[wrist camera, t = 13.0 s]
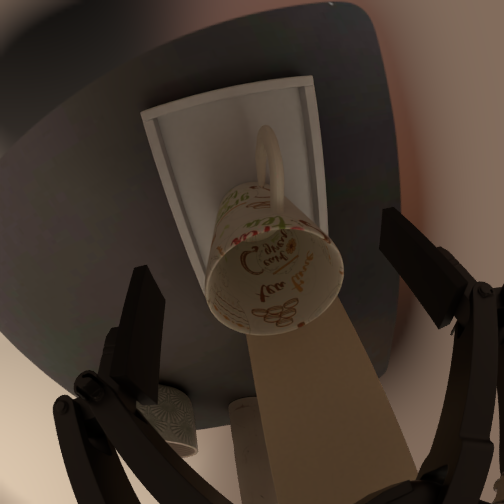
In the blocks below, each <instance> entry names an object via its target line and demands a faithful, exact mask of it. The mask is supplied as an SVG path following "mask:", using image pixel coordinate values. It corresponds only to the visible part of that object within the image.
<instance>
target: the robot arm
mask: <svg viewBox="0 0 504 504" xmlns="http://www.w3.org/2000/svg"><path fill="white" fill-rule="evenodd" d="M379 249H380V251H381V252H382V253H383V254H384V255H385V257H386V258H387V259H388V260H389V262H390V263H391V264H392V266H393V267H394V268H395V269H396V271H397V272H398V273H399V275H400V276H401V277H402V278H403V280H404V281H405V282H406V284H407V285H408V286H409V288H410V289H411V291H412V292H413V293H414V295H415V296H416V297H417V299H418V300H419V302H420V303H421V304H422V306H423V307H424V309H425V310H426V311H427V313H428V314H429V316H430V317H431V319H432V320H433V322H434V323H435V325H436V326H437V328H438V329H441V328H443V327H445V326H447V325H449V324H450V322H451V321H452V319H453V317H454V316H455V318H456V319H457V322H456V324H455V326H454V327H453V330H452V331H451V334H450V335H453V333H454V331H455V335H454V345H453V353H452V361H451V368H450V374H449V379H448V386H447V390H446V395H445V400H444V404H443V409H442V413H441V416H440V421H439V424H438V428H437V431H436V435H435V438H434V441H433V445H432V447H431V450H430V453H429V455H428V456H427V458H426V459H425V460H424V462H423V464H422V466H421V468H420V470H419V473H418V475H417V477H416V480H412V481H410V479H409V480H406V481H403V482H400V483H396V484H393V485H390V486H388V487H385V488H383V489H381V490H378V491H376V492H373V493H371V494H369V495H367V496H365V497H364V498H362V499H361V500H359V501H357V502H356V503H354V504H491V503H488V502H485V501H482V500H479V499H480V496H481V493H482V491H483V488H484V485H485V482H486V478H487V475H488V472H489V468H490V464H491V461H492V457H493V452H494V445H493V443H492V442H491V441H490V431H491V426H492V420H493V414H494V406H495V398H496V388H497V393H498V403H499V424H500V444H499V462H500V473H501V477H500V479H498V480H497V481H496V482H495V484H494V487H493V488H494V491H495V492H497V494H496V498H495V499H494V501H493V503H492V504H504V284H503V286H502V287H499V288H492V287H491V286H490V285H489V284H488V283H485V282H477V281H476V280H475V279H474V278H473V277H472V276H471V275H470V274H469V273H468V271H467V270H466V269H465V268H464V267H463V266H462V265H461V264H459V262H458V261H457V260H456V259H455V258H454V256H453V255H452V254H451V253H450V252H449V251H447V250H446V249H444V248H442V247H437V248H436V247H435V246H434V245H433V244H432V243H431V242H430V241H429V240H428V239H427V238H426V237H425V236H424V235H423V234H422V233H421V232H420V231H419V230H418V229H417V228H416V227H415V226H414V225H413V224H412V223H411V222H410V221H408V220H407V219H406V218H405V217H404V216H403V215H402V214H401V213H400V212H399V211H398V210H396V209H395V208H394V207H391V208H386V209H383V212H382V225H381V236H380V245H379ZM164 310H165V299H164V297H163V295H162V293H161V291H160V289H159V288H158V286H157V284H156V282H155V280H154V278H153V276H152V274H151V272H150V270H149V268H148V266H147V265H143V266H139V267H135V268H134V270H133V274H132V277H131V281H130V284H129V288H128V292H127V296H126V299H125V303H124V307H123V311H122V315H121V320H120V324H119V327H114V328H111V330H110V331H109V333H108V335H107V336H106V340H105V344H104V348H103V355H102V357H101V362H100V367H99V372H98V375H97V374H96V373H95V372H94V371H91V370H88V371H84V372H83V373H81V374H80V375H79V376H78V377H77V378H76V381H75V383H74V392H75V394H77V395H78V396H79V397H78V398H76V399H72V398H71V397H69V396H68V395H62V396H60V397H58V398H57V399H56V401H55V402H54V405H53V415H54V421H55V426H56V431H57V436H58V440H59V445H60V449H61V453H62V456H63V460H64V464H65V467H66V471H67V474H68V477H69V480H70V483H71V486H72V489H73V492H74V494H75V497H76V500H77V502H78V504H141V503H140V501H139V499H138V497H137V496H136V494H135V492H134V490H133V488H132V486H131V484H130V482H129V479H128V477H127V475H126V473H125V471H124V468H123V466H122V464H121V462H120V459H119V457H118V454H117V452H116V450H117V451H118V453H119V454H120V456H121V457H122V458H123V460H124V461H125V462H126V464H127V465H128V467H129V468H130V469H131V470H132V472H133V473H134V474H135V476H136V477H137V478H138V479H139V480H140V482H141V483H142V484H143V485H144V486H145V488H146V489H147V490H148V491H149V492H150V493H151V495H152V496H153V497H154V498H155V499H156V500H157V501H158V502H159V503H160V504H233V503H232V502H231V501H229V500H228V499H227V498H225V497H224V496H223V495H222V494H220V493H219V492H218V491H217V490H216V489H215V488H213V487H212V486H211V485H210V484H209V483H208V482H206V481H205V480H204V479H203V478H202V477H201V476H200V475H199V474H198V473H197V472H196V471H195V470H193V469H192V468H191V467H190V466H189V465H188V464H187V463H186V462H185V461H184V460H183V459H182V458H181V457H180V456H179V455H178V454H177V453H176V452H175V451H174V450H173V449H172V448H171V446H170V445H169V444H168V443H167V442H166V441H165V440H164V439H163V438H162V437H161V436H160V434H159V433H158V432H157V431H156V430H155V429H154V428H153V426H152V425H151V424H150V423H149V422H148V421H147V419H146V418H145V417H144V416H143V414H142V413H141V412H140V411H139V410H138V409H137V408H136V401H138V402H139V403H140V404H141V405H143V406H146V405H158V386H159V368H160V353H161V341H162V329H163V319H164Z"/></svg>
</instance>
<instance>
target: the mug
mask: <svg viewBox="0 0 504 504" xmlns="http://www.w3.org/2000/svg"><path fill="white" fill-rule="evenodd" d="M267 158H268V164H269V172H270V185H269V184H266V183H265V177H266V159H267ZM255 160H256V169H257V178H258V182H246V183H243V184H240V185H238V186H236V187H234V188H233V189H231V190H230V191H229V192H228V193H227V194H226V195H225V196H224V198H223V199H222V201H221V203H220V206H219V209H218V213H217V218H216V223H215V228H214V233H213V238H212V243H211V248H210V254H209V259H208V264H207V270H206V276H205V297H206V301H207V304H208V306H209V308H210V310H211V312H212V313H213V315H214V316H215V317H216V318H217V319H218V320H219V321H220V322H221V323H223V324H224V325H225V326H227V327H229V328H231V329H233V330H235V331H238V332H241V333H245V334H250V335H262V336H264V335H276V334H281V333H286V332H289V331H292V330H295V329H298V328H300V327H302V326H304V325H306V324H308V323H310V322H311V321H313V320H314V319H316V318H317V317H318V316H320V315H321V314H322V313H323V312H324V311H325V310H326V309H327V308H328V307H329V306H330V305H331V304H332V302H333V301H334V299H335V298H336V296H337V294H338V293H339V290H340V288H341V286H342V282H343V276H344V266H343V261H342V257H341V255H340V252H339V250H338V249H337V247H336V246H335V244H334V243H333V242H332V240H331V239H330V238H329V237H328V236H327V235H326V234H325V233H324V232H323V231H322V230H321V229H320V228H319V227H318V226H317V225H316V224H315V223H314V222H313V221H312V220H310V219H309V218H308V217H307V216H306V215H305V214H304V213H303V212H302V211H301V210H300V209H299V208H297V207H296V206H295V205H294V204H293V203H292V202H291V201H290V200H289V199H288V198H286V197H285V196H284V169H283V161H282V156H281V151H280V148H279V144H278V140H277V137H276V135H275V133H274V131H273V129H272V128H271V127H270V126H268V125H263V126H261V127H260V129H259V131H258V134H257V143H256V151H255Z"/></svg>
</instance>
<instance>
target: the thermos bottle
mask: <svg viewBox="0 0 504 504" xmlns="http://www.w3.org/2000/svg"><path fill="white" fill-rule="evenodd" d="M229 416H230V424H231V432H232V438H233V444H234V454H235V461H236V468H237V475H238V481H239V488H240V494H241V500H242V504H278V501H277V496H276V491H275V487H274V482H273V477H272V472H271V467H270V462H269V457H268V452H267V447H266V442H265V436H264V431H263V426H262V421H261V415H260V410H259V405H258V399H257V397H246V398H241V399H238V400H235V401H233V402H232V403H231V404H230V405H229Z"/></svg>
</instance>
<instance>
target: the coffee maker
mask: <svg viewBox="0 0 504 504" xmlns="http://www.w3.org/2000/svg"><path fill="white" fill-rule="evenodd" d="M140 114H141V117H142V121H143V124H144V128H145V131H146V135H147V138H148V141H149V144H150V148H151V151H152V154H153V157H154V160H155V163H156V167H157V170H158V173H159V176H160V179H161V182H162V185H163V188H164V191H165V193H166V196H167V199H168V202H169V205H170V208H171V211H172V213H173V216H174V219H175V222H176V224H177V227H178V230H179V233H180V235H181V238H182V241H183V243H184V246H185V248H186V251H187V254H188V256H189V259H190V261H191V264H192V266H193V269H194V271H195V274H196V276H197V279H198V281H199V284H200V286H201V289H202V291H203V294H204V295H205V276H206V270H207V264H208V259H209V254H210V248H211V243H212V238H213V233H214V228H215V223H216V218H217V213H218V209H219V206H220V203H221V201H222V199H223V198H224V196H225V195H226V194H227V193H228V192H229V191H230V190H231V189H233V188H234V187H236V186H238V185H240V184H243V183H246V182H258V178H257V169H256V160H255V151H256V143H257V134H258V131H259V129H260V127H261V126H263V125H268V126H270V127H271V128H272V129H273V131H274V133H275V135H276V137H277V140H278V144H279V148H280V151H281V156H282V161H283V169H284V196H285V197H286V198H288V199H289V200H290V201H291V202H292V203H293V204H294V205H295V206H296V207H297V208H299V209H300V210H301V211H302V212H303V213H304V214H305V215H306V216H307V217H308V218H309V219H310V220H312V221H313V222H314V223H315V224H316V225H317V226H318V227H319V228H320V229H321V230H322V231H323V232H324V233H325V234H326V235H327V236H328V217H327V200H326V185H325V173H324V161H323V151H322V141H321V132H320V124H319V116H318V108H317V101H316V94H315V88H314V82H313V76H312V75H310V76H295V77H286V78H278V79H271V80H264V81H258V82H252V83H246V84H241V85H235V86H230V87H226V88H221V89H217V90H212V91H208V92H204V93H200V94H196V95H192V96H189V97H185V98H181V99H178V100H175V101H171V102H168V103H165V104H162V105H158V106H155V107H152V108H149V109H147V110H144V111H142V112H140ZM265 183H266V184H269V185H270V172H269V164H268V158H267V159H266V177H265ZM246 337H247V343H248V349H249V354H250V360H251V366H252V371H253V377H254V383H255V388H256V394H257V399H258V405H259V410H260V415H261V421H262V426H263V431H264V436H265V442H266V447H267V452H268V457H269V462H270V467H271V472H272V477H273V482H274V487H275V491H276V496H277V501H278V504H354V503H356V502H357V501H359V500H361V499H362V498H364V497H365V496H367V495H369V494H371V493H373V492H376V491H378V490H381V489H383V488H385V487H388V486H390V485H393V484H396V483H400V482H403V481H406V480H409V479H410V481H412V480H416V477H417V475H418V472H417V470H416V466H415V464H414V461H413V459H412V456H411V453H410V451H409V448H408V446H407V444H406V441H405V439H404V436H403V434H402V431H401V429H400V426H399V424H398V422H397V419H396V417H395V415H394V412H393V410H392V408H391V406H390V403H389V401H388V399H387V396H386V394H385V392H384V390H383V387H382V385H381V383H380V381H379V379H378V376H377V374H376V372H375V370H374V368H373V366H372V364H371V362H370V359H369V357H368V355H367V353H366V351H365V349H364V347H363V345H362V343H361V341H360V339H359V337H358V335H357V333H356V331H355V329H354V327H353V325H352V323H351V321H350V319H349V317H348V315H347V313H346V311H345V309H344V307H343V305H342V304H341V302H340V300H339V298H338V296H336V298H335V299H334V301H333V302H332V304H331V305H330V306H329V307H328V308H327V309H326V310H325V311H324V312H323V313H322V314H321V315H320V316H318V317H317V318H316V319H314V320H313V321H311V322H310V323H308V324H306V325H304V326H302V327H300V328H298V329H295V330H292V331H289V332H286V333H281V334H276V335H264V336H262V335H250V334H246Z"/></svg>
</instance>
